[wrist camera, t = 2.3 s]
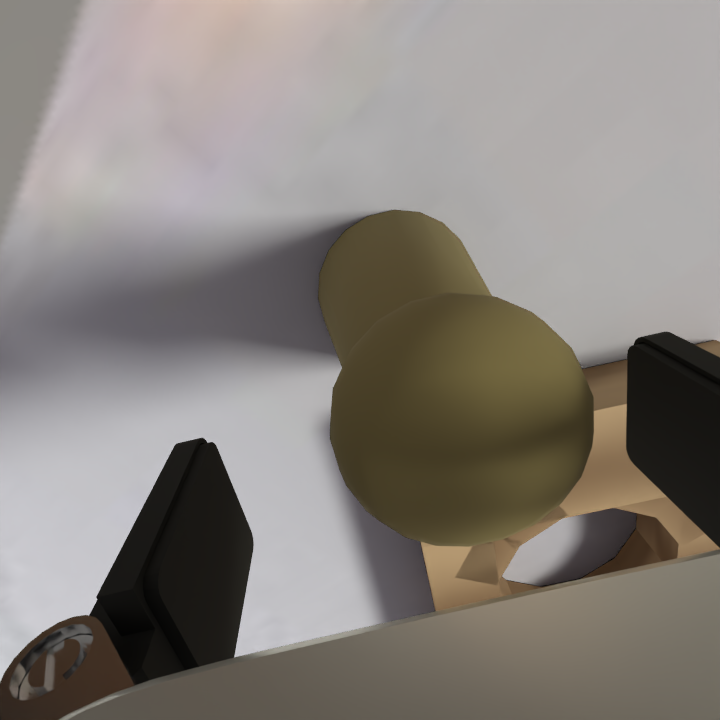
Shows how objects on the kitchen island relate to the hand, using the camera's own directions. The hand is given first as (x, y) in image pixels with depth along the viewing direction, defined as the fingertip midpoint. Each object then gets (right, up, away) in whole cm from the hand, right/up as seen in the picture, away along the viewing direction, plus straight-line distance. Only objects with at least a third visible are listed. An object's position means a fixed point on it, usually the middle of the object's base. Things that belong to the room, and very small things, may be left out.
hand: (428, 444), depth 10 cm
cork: (0, +5, +8) cm, 9 cm away
